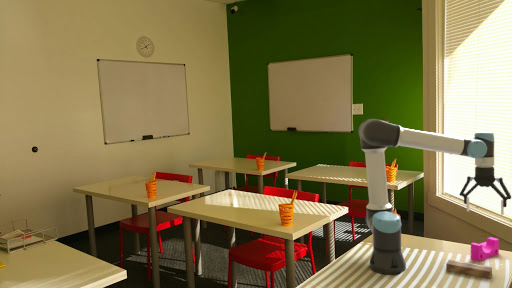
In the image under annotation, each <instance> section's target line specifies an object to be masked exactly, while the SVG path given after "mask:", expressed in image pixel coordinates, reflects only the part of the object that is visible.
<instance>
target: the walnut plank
mask: <svg viewBox="0 0 512 288" xmlns="http://www.w3.org/2000/svg"><path fill="white" fill-rule="evenodd" d="M445 264H446V265H445V270H446V272H452V273H457V274H461V275H466V276H467V275H468V276H472V277H473V276H474V277H477V278H483V279H488V280H490V279H491V277H492V275H493V267H492V266H487V265H483V264H482V265H481V264H475V263H470V262H464V261H459V260H452V259H448V261H447V262H446V263H445Z"/></svg>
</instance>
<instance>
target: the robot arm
mask: <svg viewBox="0 0 512 288" xmlns="http://www.w3.org/2000/svg"><path fill="white" fill-rule="evenodd" d="M358 137H359V138H360V149H361V150H362V152H364V155H365V166H366V167H365V168H366V169H365V170H366V180H367V193H368V204H367V205H366V207H365V208H366V215H365V223H366V225H367V228H368V229H369V230H370V232H371V233H372V244H373V248H372V249H373V250H372V252H371V256H370V259H369V268H370V269H371V271H374V272H375V273H378V274H384V275H398V274H402V273H403V272H405V271H406V270H407V264H406V260H405V258H404V255H403V252H402V222H401V221H402V220H401V217H400V215H398V214H397V213H396V212H395V213H394V211H393V205H392V204H391V203H390V202H389V193H388V179H387V170H386V169H387V168H386V167H387V166H386V156H385V151H386V150H387V148H388V147H390V148H391V147H392V148H398V146H400V147H407V148H413V149H418V150H419V149H420V150H425V151H431V152H438V153H443V154H449V155H455V156H461V157H462V156H463V157H468V158H471V159H474V165H475V167H474V176H471V175H468V176H467V178H466V182H465V184H464V185H463V187H462V189H461V191H460V192H459V196H461V197H463V204H464V205H466V212H470V196H469V195H471V193H472V192H473V191H474V190H475V189H476V188H478V187H481V188H484V187H485V188H489V187H490V188H491V189H493V191H495V193H496V194H497V195H498V196H499V197H500V198H501V199H500V214H501V216H503V215H504V214H505V212H504V208H506V207H507V206H508V205H507V202H508V201H507V200H511V199H512V195H511V193H510V191H509V190H508V188H507V187H506V185H505V182H504V181H503V180H504V179H503V177H502V176H500V177H496V176H495V167H494V166H495V135H494V133H493V132H492V131H477V132H474V135H473V136H465V137H464V136H455V135H447V134H442V133H436V132H429V131H422V130H417V129H416V130H415V129H410V128H405V127H402V126H401V125H399V124H393V123H390V122H387V121H385V120H382V119H376V118H368V119H365V120H364V121H362V123H361V124H360V125H359V127H358ZM472 181H474V182H475V183H474V185H473V186H471V188H470V189H468V190H467V188H468V186H469V184H470V182H472ZM495 181H496V182H497V183H498V184H499V186H500V187H501V188H502V191H503V192H504V193H503V192H502V191H501V189H499V188H498V187H497V185H496V184H495ZM466 190H467V192H466Z"/></svg>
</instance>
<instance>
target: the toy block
mask: <svg viewBox="0 0 512 288" xmlns="http://www.w3.org/2000/svg"><path fill="white" fill-rule="evenodd" d="M499 253H500V239H499V238H496V237H492V236H490V237H487V238H486V241H484V242H481V243H476V242H471V243H470V259H471V260H473V261H476V262H481V261H484V260H487V259H489V258H491V257H494V256H497V255H499Z"/></svg>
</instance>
